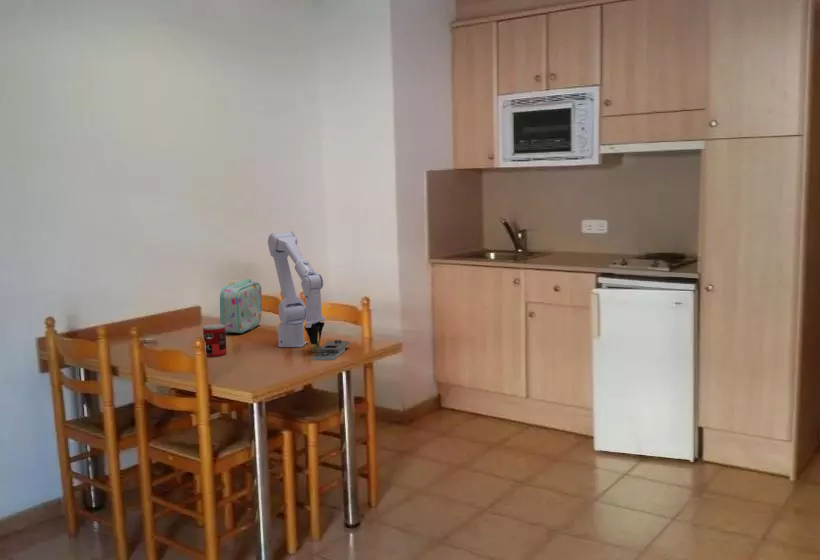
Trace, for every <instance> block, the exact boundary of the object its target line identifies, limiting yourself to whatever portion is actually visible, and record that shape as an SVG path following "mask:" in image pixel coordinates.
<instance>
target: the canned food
mask: <svg viewBox="0 0 820 560" xmlns="http://www.w3.org/2000/svg"><path fill="white" fill-rule="evenodd" d="M202 332H203V333H202V334H203V341H204V340H205V342H206V354H207V356H208V357H209V358H213V357H214V358H215V357H216V358H218V357H223V356H225V355H226V354H227V352H228V351H227V350H228V349H227V339H226V333H225V325H223V324H220V323H215V324H214V323H213V324H207V325H206V324H205V325H204V326H202ZM207 356H206V357H207Z"/></svg>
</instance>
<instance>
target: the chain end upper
mask: <svg viewBox="0 0 820 560" xmlns="http://www.w3.org/2000/svg"><path fill="white" fill-rule="evenodd" d="M349 345H350V340H342V339H334V340H329V341H327V342H326V343H324V344H322V345H320V348H318V349H317V352H316V353H318V352H329V353H339V352H340V351H341V350H343V349H344V348H345V349H346V348H347V347H348V346H349Z"/></svg>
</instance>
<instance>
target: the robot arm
mask: <svg viewBox="0 0 820 560" xmlns="http://www.w3.org/2000/svg"><path fill="white" fill-rule="evenodd" d="M267 246H268V250H269V254H270V256H271V257H273V262H274V266H275V270H276V273H277V278H278V282H279V286H280V291H281V295H282V300H281V302H280V303H279V304H278V305H277V306H278V318H279V320H280V323H279V324H278V326H277V339H278V340H277V342H278V346H277V347H278V348H302V347H304V346H305V345H306V343H307V344H308V343H309V342H310V345H312V344H317V339H318V331H319V342H320V343H321V338H322V332H323V329H324V326H325V320H326V318H325V317H324V315H323V313H322V297H321V296H322V295H321V290H322V289H323V287H324V279H323V276H322V274H321V273H318V272H316V271H315V270H314V268H313V267H312V265H311V264H310V261H308V260H307V259H304V257H303V255H302V253H301V251H300V249H299V247H298V237H297V235H296V233H295V232H294V231H288V232H287V231H286V232H277V233H276V232H275V233H274V232H272V233H270V234H269V236H268V239H267ZM288 257H290V259H291V260H292V261H293V263H294V264H295V265H294V270H295V272H296V273H297V275H298V277H299V278H300V281H301V282H300V285H301V289H302V291H303V296H304V299H305V302H304V300H303V299H302V298H300V297H298V296H297V294H296V289H295V285H294V281H293V280H294V279H293V275H292V271H291V269H290V264H289V259H288ZM304 303H305V304H304ZM304 323H305V324H304ZM304 330H305V332H306V334H307V335H308V338H309V342H308V341H305V334H304Z"/></svg>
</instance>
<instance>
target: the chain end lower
mask: <svg viewBox="0 0 820 560" xmlns="http://www.w3.org/2000/svg"><path fill="white" fill-rule="evenodd" d="M345 352H346V347H345V348H344V349H343V350H341V351H340V352H339V353H329V352H315V354H314V355H312V356H311V359H312V360H313V361H314V360H315V361H316V360H317V361H334V360H336V359H337V358H338V357H340V356H341V355H342V354H344V353H345Z"/></svg>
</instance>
